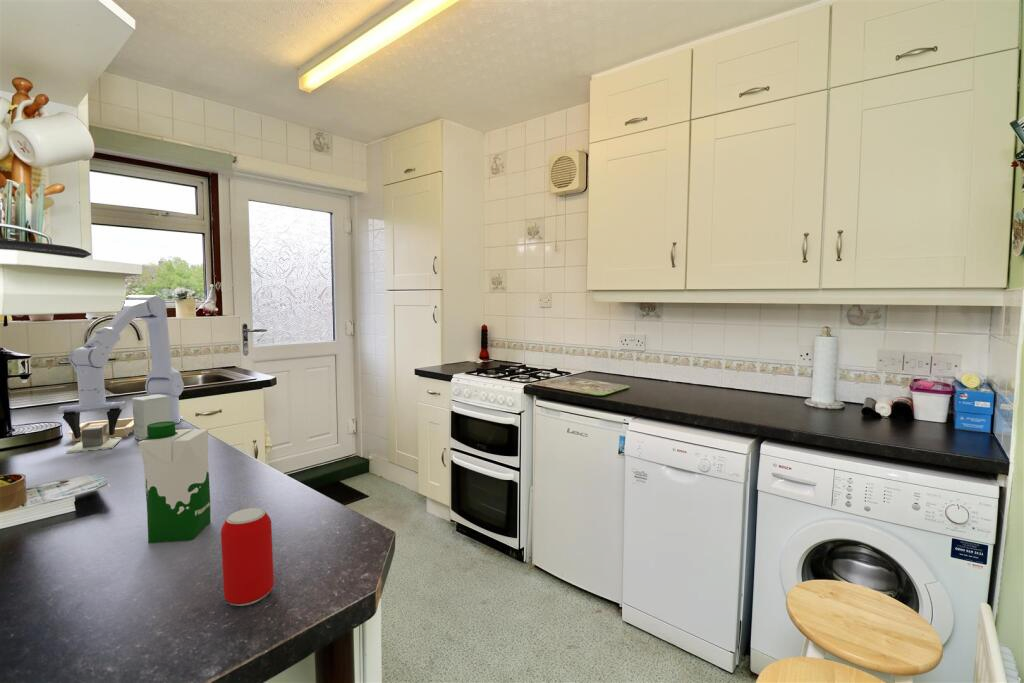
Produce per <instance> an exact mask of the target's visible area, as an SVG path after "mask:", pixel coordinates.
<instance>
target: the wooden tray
mask: <svg viewBox="0 0 1024 683" xmlns="http://www.w3.org/2000/svg"><path fill="white" fill-rule="evenodd" d="M107 422H108V419H103V420H102V419H101V420H93V421H92V420H91V421H86V422H82V423H81V422H80V431H81V430H83V429H84V428H86V427H87V426H89V425H90V424H96V423H107ZM108 425H109V422H108ZM133 430H134V419H133V417H126V418H118V420H117V423H116V426H115V432H114V434H113V435H109V438H115V437H122V438H125V437H124V436H127V435H128V434H129V433H130V432H131V433H132V432H133ZM131 433H130V434H131ZM66 434H70V435H71V442H72V443H76V442H75V441H82V432H81V437H79V438H77V439H75V437H74V434H73V432H72V430H71V429H70V430H68V431H67V432H66ZM130 434H129V435H130ZM129 435H128V436H129ZM128 436H127V437H128Z"/></svg>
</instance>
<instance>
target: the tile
mask: <svg viewBox="0 0 1024 683" xmlns="http://www.w3.org/2000/svg"><path fill="white" fill-rule="evenodd" d="M122 440H123V437H121V438H111V439H109V440H108V441H106V442H105V443H104V444H103V445H102V446H98V447H88V448H83V445H82V441H80V442H76V444H74V445H73V446H71V447H70V448H69V449H68V450H66V454H70V453H69V452H74V453H80V452H79V451H83V452H89V451H88V450H93V451H99V450H98V449H102V450H108V449H107V448H112V449H114V448H115V447H116V446H117V445H118V444H119V443H120V442H122ZM119 441H120V442H119ZM118 442H119V443H118ZM117 443H118V444H117ZM116 444H117V445H116ZM115 445H116V446H115ZM114 446H115V447H114ZM113 447H114V448H113Z"/></svg>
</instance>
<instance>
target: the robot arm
mask: <svg viewBox="0 0 1024 683" xmlns="http://www.w3.org/2000/svg"><path fill="white" fill-rule="evenodd" d="M125 297H126V300H125V304H124V307H123V309H122V310H121V311H119V310H118V311H119V312H118V311H117V312H116V314H115V315H114V317H113V318H112V319H111V321H110V322H109V324H107V326H104V327H100V328H97V329H96V330H95V331H94V334H93V335H92V336H91V337H90V338H89V339H88V340H87V341H86V342H85V343H84V345H83V346H82V347H77V348H75V350H73V351H72V352H71V356H70V357H69V359H68V360H69V362H70V364H71V366H73V370H74V373H75V374H76V379H77V390H78V392H77V393H78V404H77V403H76V404H73V405H72V404H69V405H61V406H59V407H58V408H57V409H58V415H63V416H62V419H63V421H65V422H66V424H67V425H68V426H69V428H70V430H72V432H73V434H74V437H75V439H77V438H79V437H81V431H80V424H81V422H80V419H81V413H87V412H98V411H99V412H100V411H107V412H106V416H107V420H108V422H109V435H113V434H114V432H115V426H116V423H117V420H118V419H120V415H121V414H122V411H123V410H124V409H126V408H127V406H126V404H127V403H126V401H107V400H106V390H105V389H106V387H105V386H106V385H105V374H104V373H105V372H104V366H106V365H107V364H108V362H109V357H110V354H111V351H112V350H113V349H114V348H115V346H116V345H117V344H118V342H120V340H121V335H120V333H121V332H122V331H123V330H124V329H125V328H126V327H128V326H129V325H130V324H131V323H132V321H133V320H135V319H136V318H138V319H140V320H142V321H144V322H145V323H146V324H147V326H148V327H147V328H148V337H149V339H148V340H149V349H150V358H151V359H150V360H151V366H152V369H151V371H149V372H148V373H147V374H146V377H145V378H146V381H145V386H144V388H145V392H146V394H148V396H149V395H156V394H160V395H165V396H170V411H171V422H175V424H179V423H180V422H181V421H182V419H183V418H184V415H181V410H180V409H181V408H180V400H179V398H180V397H179V396H181V394H182V393H183V391H184V388H185V383H184V380H183V378H182V373H181V372H180V371H179V370H177V369H175V368H174V367H173V366H172V364H173V363H172V354H171V346H170V345H171V343H170V334H169V324H168V313H167V303H166V300H165V299H164V298H162V297H161V296H160V295H158V294H154V295H153V294H152V295H133V294H129V295H127V296H125ZM179 419H181V420H179Z"/></svg>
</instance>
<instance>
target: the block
mask: <svg viewBox="0 0 1024 683" xmlns="http://www.w3.org/2000/svg"><path fill="white" fill-rule="evenodd" d="M81 432H82V445H83V448H88V447H98V446H102V445H103V444H104V443H105V442H106V441H108V440H109V425H108V422H107V423H96V424H90V425H89V426H87V427H86V428H84V429H83V430H81Z"/></svg>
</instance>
